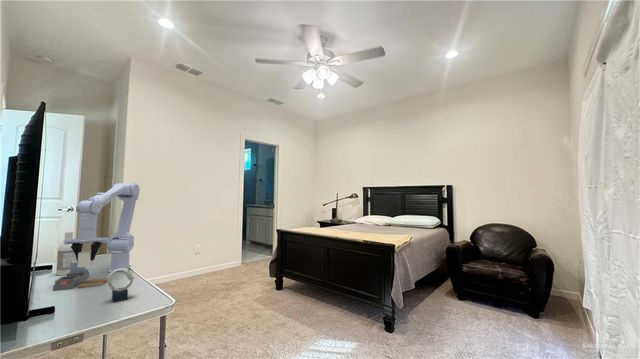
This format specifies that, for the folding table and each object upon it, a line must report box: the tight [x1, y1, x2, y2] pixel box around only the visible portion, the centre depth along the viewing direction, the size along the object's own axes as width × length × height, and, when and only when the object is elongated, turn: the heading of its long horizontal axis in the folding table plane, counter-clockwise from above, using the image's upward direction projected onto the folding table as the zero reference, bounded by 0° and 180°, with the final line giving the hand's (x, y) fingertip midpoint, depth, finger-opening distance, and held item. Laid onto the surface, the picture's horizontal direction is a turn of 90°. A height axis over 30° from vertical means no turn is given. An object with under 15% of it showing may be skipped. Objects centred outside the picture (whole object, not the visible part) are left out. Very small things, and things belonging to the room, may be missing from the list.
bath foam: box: [55, 230, 77, 277], centre depth 127 cm, size 7×7×20 cm
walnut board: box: [77, 277, 108, 289], centre depth 114 cm, size 9×8×1 cm
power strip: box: [52, 268, 90, 292], centre depth 117 cm, size 24×6×4 cm, turn 24°
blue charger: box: [70, 261, 86, 273], centre depth 119 cm, size 4×4×6 cm
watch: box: [106, 268, 135, 304], centre depth 99 cm, size 6×8×11 cm
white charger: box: [77, 250, 94, 268], centre depth 113 cm, size 4×4×6 cm
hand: (85, 260), depth 113 cm, fingers closed on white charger, 4 cm apart
